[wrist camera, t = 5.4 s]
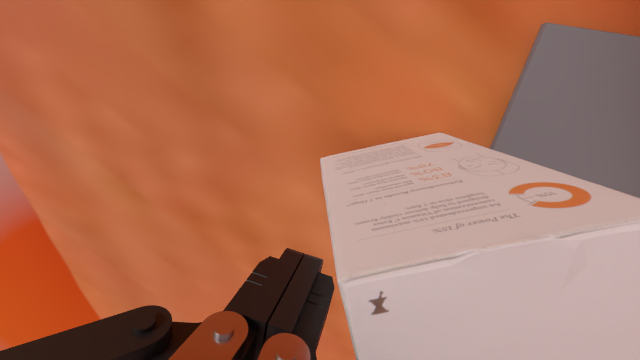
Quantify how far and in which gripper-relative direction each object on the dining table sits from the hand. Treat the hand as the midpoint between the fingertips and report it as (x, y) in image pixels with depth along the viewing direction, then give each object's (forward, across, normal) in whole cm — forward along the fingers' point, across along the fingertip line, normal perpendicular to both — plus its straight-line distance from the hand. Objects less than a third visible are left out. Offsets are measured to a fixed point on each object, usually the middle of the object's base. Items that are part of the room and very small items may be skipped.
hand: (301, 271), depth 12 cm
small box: (+10, -3, 0) cm, 10 cm away
